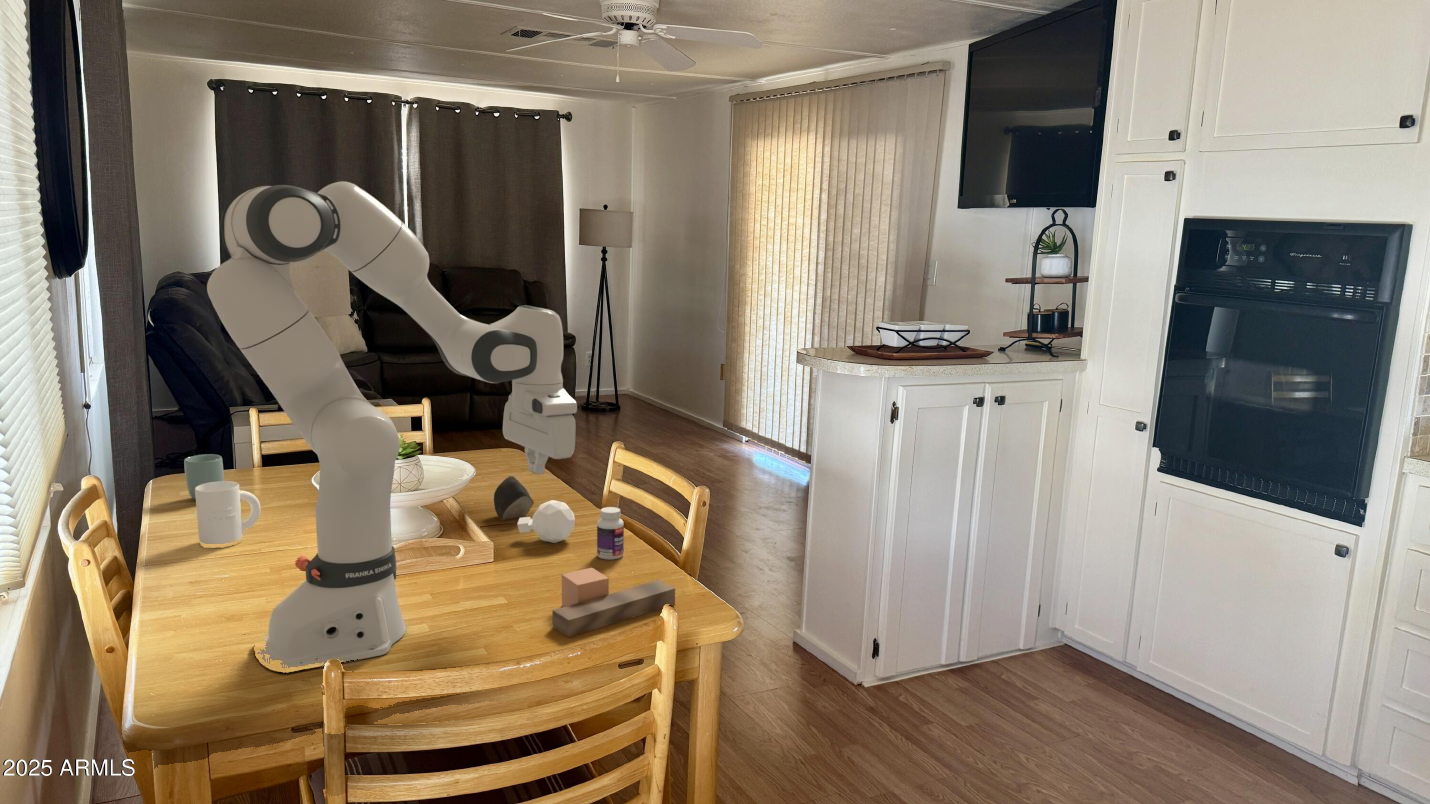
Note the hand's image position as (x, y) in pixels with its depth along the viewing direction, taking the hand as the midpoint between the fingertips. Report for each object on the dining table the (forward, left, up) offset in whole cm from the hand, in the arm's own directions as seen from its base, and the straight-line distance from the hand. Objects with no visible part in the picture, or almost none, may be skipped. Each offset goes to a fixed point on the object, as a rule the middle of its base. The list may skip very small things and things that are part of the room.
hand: (536, 472), depth 168 cm
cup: (-34, +96, -22) cm, 104 cm away
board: (+4, -19, -22) cm, 29 cm away
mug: (-37, +61, -22) cm, 75 cm away
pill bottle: (+20, +6, -22) cm, 31 cm away
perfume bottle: (+15, +22, -22) cm, 35 cm away
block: (+2, -13, -22) cm, 26 cm away
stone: (+17, +40, -22) cm, 49 cm away
